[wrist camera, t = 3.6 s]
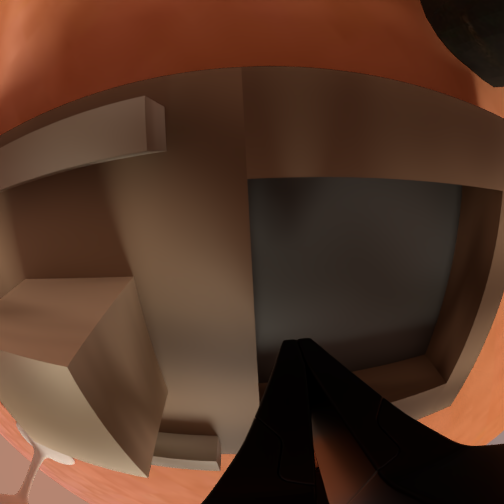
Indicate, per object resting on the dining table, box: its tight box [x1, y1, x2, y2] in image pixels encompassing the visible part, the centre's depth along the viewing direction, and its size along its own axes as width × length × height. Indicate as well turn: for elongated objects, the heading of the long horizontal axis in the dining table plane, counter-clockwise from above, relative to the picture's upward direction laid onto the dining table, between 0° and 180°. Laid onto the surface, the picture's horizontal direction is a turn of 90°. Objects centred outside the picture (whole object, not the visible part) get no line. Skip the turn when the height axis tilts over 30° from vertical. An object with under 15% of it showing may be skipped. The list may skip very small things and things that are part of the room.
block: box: [0, 277, 168, 478], centre depth 6 cm, size 5×5×4 cm
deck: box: [0, 66, 504, 471], centre depth 9 cm, size 16×34×4 cm, turn 93°
